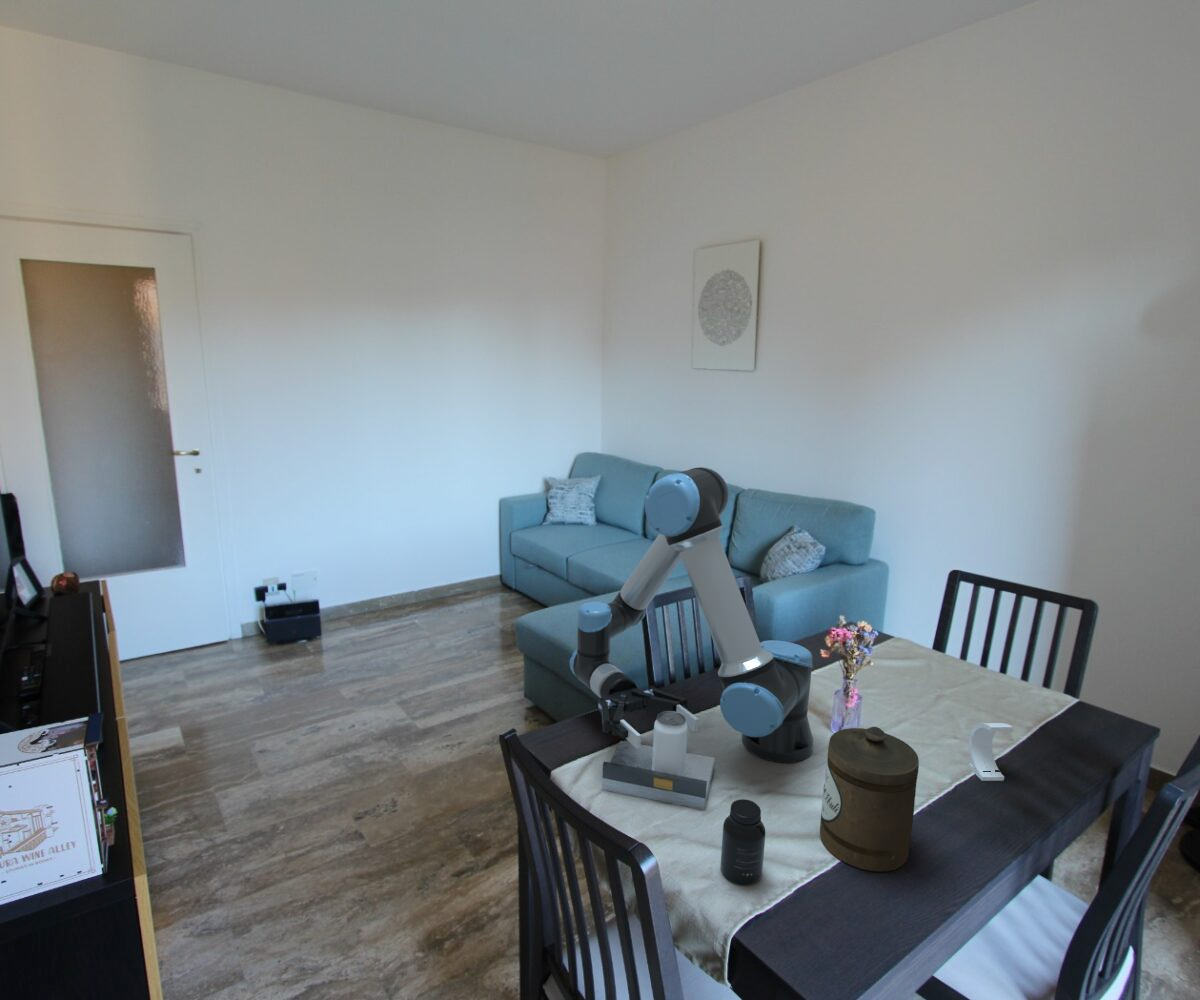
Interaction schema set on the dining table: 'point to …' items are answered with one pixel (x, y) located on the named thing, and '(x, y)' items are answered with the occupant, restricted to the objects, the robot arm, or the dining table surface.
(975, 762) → the headphone stand
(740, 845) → the supplement bottle
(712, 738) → the dining table surface
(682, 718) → the can
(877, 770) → the wooden container
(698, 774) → the grey tray
